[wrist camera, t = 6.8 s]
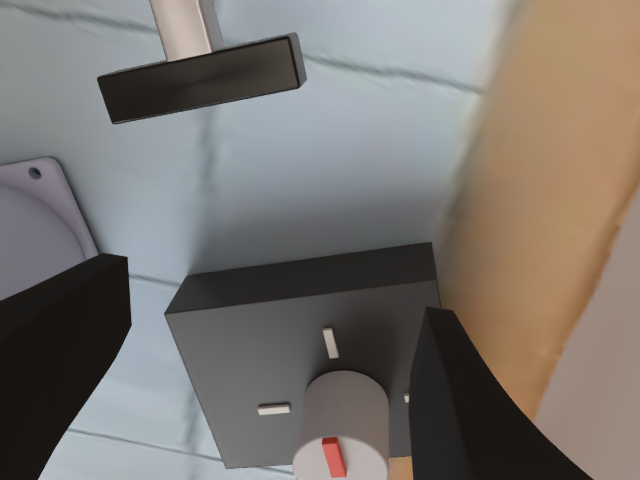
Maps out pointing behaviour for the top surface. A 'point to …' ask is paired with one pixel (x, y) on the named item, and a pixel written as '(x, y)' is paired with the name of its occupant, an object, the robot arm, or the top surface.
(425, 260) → the control panel
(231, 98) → the lever
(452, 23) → the top surface
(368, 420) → the dial
